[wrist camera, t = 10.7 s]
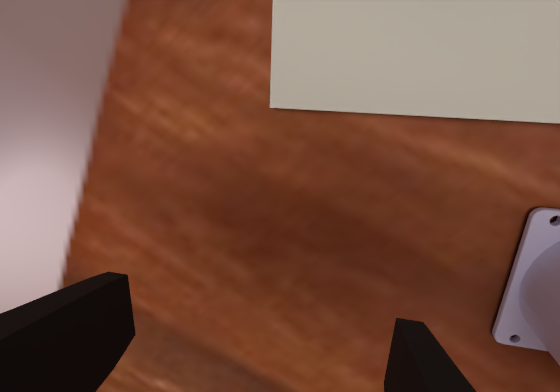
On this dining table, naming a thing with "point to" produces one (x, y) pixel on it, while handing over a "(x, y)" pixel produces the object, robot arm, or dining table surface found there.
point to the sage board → (418, 57)
